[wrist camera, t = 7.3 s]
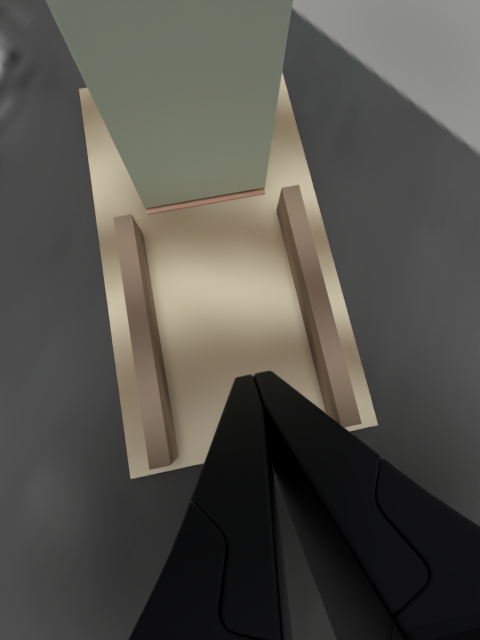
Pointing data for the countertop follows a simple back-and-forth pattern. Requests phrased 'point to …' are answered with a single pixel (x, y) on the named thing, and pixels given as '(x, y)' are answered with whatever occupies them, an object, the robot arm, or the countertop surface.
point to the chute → (219, 299)
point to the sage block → (182, 88)
